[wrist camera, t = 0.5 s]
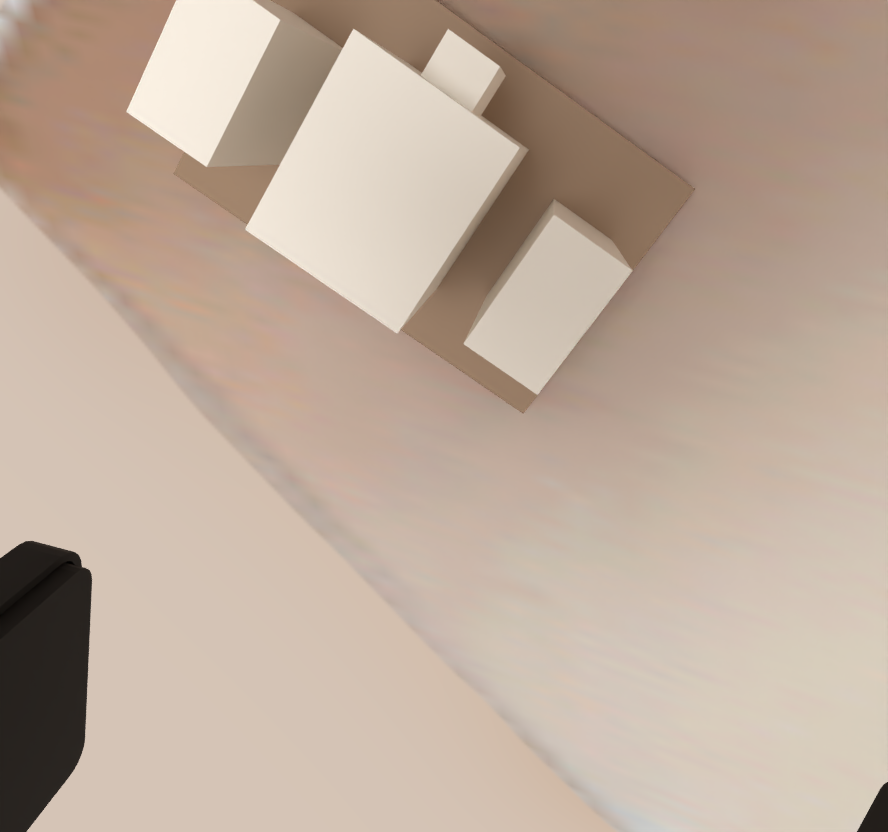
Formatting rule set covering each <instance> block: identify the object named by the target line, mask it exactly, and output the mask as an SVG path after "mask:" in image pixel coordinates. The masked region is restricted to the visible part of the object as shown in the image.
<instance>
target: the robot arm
mask: <svg viewBox="0 0 888 832" xmlns="http://www.w3.org/2000/svg"><path fill="white" fill-rule="evenodd" d="M91 589H92V576H91V573H90V570H88V569H86V568H83V567H82V565H81V559H80V557H79V555H78V554H76V553H75V552H72V551H68V550H64V549H61V548H57V547H53V546H49V545H46V544H42V543H38V542H34V541H26V542H24V543H22V544H20V545H18V546H16V547H15V548H14V549H12V550H11V551H10V552H8V553H7V554H6V555H4V556H3V557H2V558H0V832H26V831H27V830H28V829H29V827H30V826H31V825H32V824H33V822H34V821H35V820H36V819H37V817H38V816H39V815H40V813H41V812H42V811H43V810H44V808H45V807H46V806H47V804H48V803H49V802H50V801H51V799H52V798H53V797H54V795H55V794H56V793H57V792H58V790H59V789H60V788H61V786H62V785H63V784H64V783H65V781H66V780H67V779H68V777H69V776H70V775H71V773H72V772H73V770H74V769H75V767H76V765H77V763H78V761H79V759H80V756H81V754H82V751H83V747H84V742H85V724H86V702H87V679H88V656H89V634H90V609H91ZM857 832H888V782H887V783H885V784H884V785H883V786H882V788H881V789H880V791H879V792H878V794H877V796H876V798H875V800H874V802H873V803H872V805H871V807H870V809H869V811H868V813H867V814H866V816H865V818H864V820H863V822H862V824H861V825H860V827H859V829H858V831H857Z"/></svg>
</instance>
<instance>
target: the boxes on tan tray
mask: <svg viewBox="0 0 888 832" xmlns="http://www.w3.org/2000/svg"><path fill="white" fill-rule="evenodd" d="M127 113H129V114H130V115H132V116H133V117H135V118H136V119H138V120H139V121H140V122H142V123H143V124H145V125H146V126H148V127H149V128H151V129H152V130H154V131H155V132H156V133H158V134H159V135H161V136H162V137H164V138H165V139H167V140H168V141H170V142H171V143H172V144H174V145H175V146H177V147H178V148H180V149H181V150H183V151H184V153H183V155H182V158H181V160H180V162H179V164H178V166H177V168H176V170H175V172H174V175H176V176H177V177H179V178H180V179H182V180H183V181H185V182H186V183H188V184H189V185H190V186H192V187H193V188H195V189H196V190H198V191H199V192H201V193H202V194H204V195H205V196H206V197H208V198H209V199H211V200H212V201H214V202H215V203H217V204H218V205H220V206H221V207H223V208H224V209H225V210H227V211H228V212H230V213H231V214H233V215H234V216H236V217H237V218H239V219H240V220H241V221H243V222H244V223H246V224H247V227H246V229H245V230H246V231H248V232H249V233H251V234H252V235H254V236H255V237H257V238H258V239H260V240H261V241H262V242H264V243H265V244H267V245H268V246H270V247H271V248H273V249H274V250H276V251H277V252H279V253H280V254H281V255H283V256H284V257H286V258H287V259H289V260H290V261H292V262H293V263H295V264H296V265H298V266H299V267H300V268H302V269H303V270H305V271H306V272H308V273H309V274H311V275H312V276H314V277H315V278H317V279H318V280H319V281H321V282H322V283H324V284H325V285H327V286H328V287H330V288H331V289H333V290H334V291H335V292H337V293H338V294H340V295H341V296H343V297H344V298H346V299H347V300H349V301H350V302H352V303H353V304H354V305H356V306H357V307H359V308H360V309H362V310H363V311H365V312H366V313H368V314H369V315H371V316H372V317H373V318H375V319H376V320H378V321H379V322H381V323H382V324H384V325H385V326H387V327H388V328H390V329H391V330H392V331H394V332H395V333H398V332H399V331H400V330H402V331H403V332H405V333H406V334H408V335H409V336H411V337H412V338H414V339H415V340H417V341H418V342H419V343H421V344H422V345H424V346H425V347H427V348H428V349H430V350H431V351H433V352H434V353H436V354H437V355H438V356H440V357H441V358H443V359H444V360H446V361H447V362H449V363H450V364H452V365H453V366H455V367H456V368H457V369H459V370H460V371H462V372H463V373H465V374H466V375H468V376H469V377H471V378H472V379H473V380H475V381H476V382H478V383H479V384H481V385H482V386H484V387H485V388H487V389H488V390H490V391H491V392H492V393H494V394H495V395H497V396H498V397H500V398H501V399H503V400H504V401H506V402H507V403H508V404H510V405H511V406H513V407H514V408H516V409H517V410H519V411H520V412H522V413H524V412H525V411H526V409H527V408H528V407H529V405H530V404H531V403H532V401H533V400H534V399H535V398H536V396H537V395H538V394H539V392H540V391H541V390H542V388H543V387H544V386H545V385H546V383H547V382H548V381H549V379H550V378H551V377H552V375H553V374H554V373H555V371H556V370H557V369H558V368H559V366H560V365H561V364H562V362H563V361H564V360H565V358H566V357H567V356H568V354H569V353H570V352H571V351H572V349H573V348H574V347H575V345H576V344H577V343H578V341H579V340H580V339H581V337H582V336H583V335H584V334H585V332H586V331H587V330H588V328H589V327H590V326H591V324H592V323H593V322H594V321H595V319H596V318H597V317H598V315H599V314H600V313H601V311H602V310H603V309H604V307H605V306H606V305H607V304H608V302H609V301H610V300H611V298H612V297H613V296H614V294H615V293H616V292H617V290H618V289H619V288H620V287H621V285H622V284H623V283H624V281H625V280H626V279H627V277H628V276H629V275H630V273H631V272H632V271H633V270H634V268H635V267H636V266H637V264H638V263H639V262H640V260H641V259H642V258H643V256H644V255H645V254H646V253H647V251H648V250H649V249H650V247H651V246H652V245H653V243H654V242H655V241H656V239H657V238H658V237H659V236H660V234H661V233H662V232H663V230H664V229H665V228H666V226H667V225H668V224H669V222H670V221H671V220H672V219H673V217H674V216H675V215H676V213H677V212H678V211H679V209H680V208H681V207H682V206H683V204H684V203H685V202H686V200H687V199H688V198H689V196H690V195H691V194H692V192H693V191H694V190H695V188H693V187H692V186H690V185H689V184H688V183H686V182H685V181H684V180H682V179H681V178H679V177H678V176H677V175H675V174H674V173H673V172H671V171H670V170H668V169H667V168H666V167H664V166H663V165H662V164H660V163H659V162H657V161H656V160H655V159H653V158H652V157H651V156H649V155H648V154H646V153H645V152H644V151H642V150H641V149H640V148H638V147H637V146H635V145H634V144H633V143H631V142H630V141H629V140H627V139H626V138H624V137H623V136H622V135H620V134H619V133H618V132H616V131H615V130H613V129H612V128H611V127H609V126H608V125H607V124H605V123H604V122H602V121H601V120H600V119H598V118H597V117H596V116H594V115H593V114H591V113H590V112H589V111H587V110H586V109H585V108H583V107H582V106H580V105H579V104H578V103H576V102H575V101H574V100H572V99H571V98H569V97H568V96H567V95H565V94H564V93H563V92H561V91H560V90H558V89H557V88H556V87H554V86H553V85H552V84H550V83H549V82H547V81H546V80H545V79H543V78H542V77H541V76H539V75H538V74H536V73H535V72H534V71H532V70H531V69H529V68H528V67H527V66H525V65H524V64H523V63H521V62H520V61H518V60H517V59H516V58H514V57H513V56H512V55H510V54H509V53H507V52H506V51H505V50H503V49H502V48H501V47H499V46H498V45H496V44H495V43H494V42H492V41H491V40H490V39H488V38H487V37H485V36H484V35H483V34H481V33H480V32H479V31H477V30H476V29H474V28H473V27H472V26H470V25H469V24H468V23H466V22H465V21H463V20H462V19H461V18H459V17H458V16H457V15H455V14H454V13H452V12H451V11H450V10H448V9H447V8H446V7H444V6H443V5H441V4H440V3H439V2H437V1H436V0H176V2H175V4H174V7H173V9H172V11H171V13H170V16H169V18H168V20H167V22H166V25H165V27H164V29H163V31H162V34H161V36H160V38H159V40H158V42H157V45H156V47H155V49H154V51H153V54H152V56H151V58H150V60H149V63H148V65H147V67H146V69H145V72H144V74H143V76H142V78H141V81H140V83H139V85H138V87H137V89H136V92H135V94H134V96H133V98H132V101H131V103H130V105H129V107H128V110H127Z"/></svg>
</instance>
